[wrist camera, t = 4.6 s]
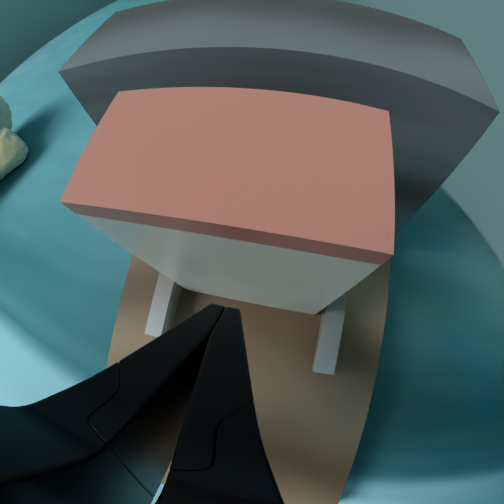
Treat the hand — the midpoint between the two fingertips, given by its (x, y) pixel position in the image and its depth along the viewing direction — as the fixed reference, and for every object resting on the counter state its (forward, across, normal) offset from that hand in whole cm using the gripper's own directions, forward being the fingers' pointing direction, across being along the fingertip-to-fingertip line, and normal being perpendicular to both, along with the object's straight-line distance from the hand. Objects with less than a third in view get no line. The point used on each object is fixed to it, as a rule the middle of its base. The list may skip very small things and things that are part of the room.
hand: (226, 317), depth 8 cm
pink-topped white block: (+5, 0, +2) cm, 6 cm away
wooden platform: (+5, 0, +5) cm, 7 cm away
